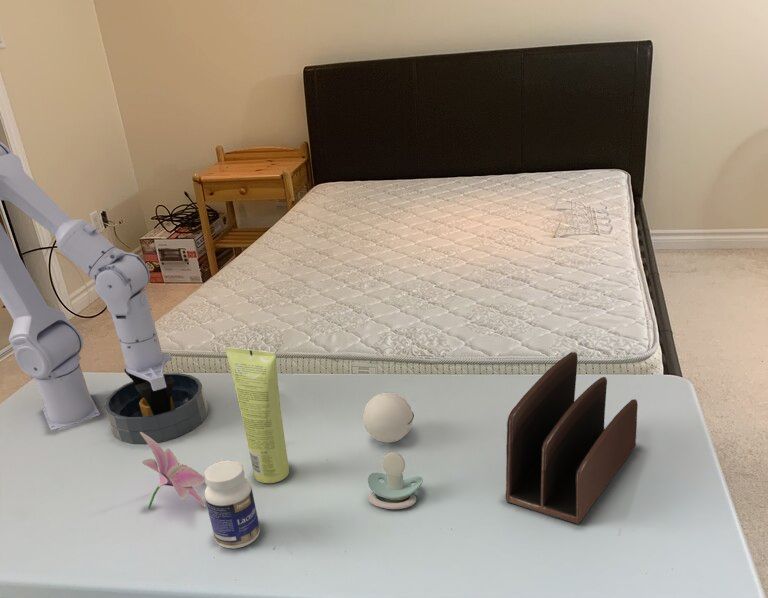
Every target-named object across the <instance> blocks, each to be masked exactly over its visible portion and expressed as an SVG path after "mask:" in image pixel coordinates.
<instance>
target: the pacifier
mask: <svg viewBox="0 0 768 598" xmlns="http://www.w3.org/2000/svg"><path fill="white" fill-rule="evenodd" d="M381 464H382V469H383V471H384V472H385V473H383V472H379V471H377V472H372V473H370V474H368V476H367V483H368V487H369V489H370V491H371V492H370V494H369V495H368V497H367V499H368V501H369V502H370V503H371V504H372V505H374V506H376V507H377V508H381V509H386V510H402V509H407V508H410V507H412V506H414V505H415V503H416V502H417V497H416V495H415V494H414V493H415V492H416V491H418V490H419V488H421V486H422V484H423V482H424V480H423V477H422V476H412V477H408V478H405V479H404V476H403V473H404V471H405V469H406V462H405V459H404V457H403V456H402V454H400V453H398V452H396V451H391V452H388V453H387V454H385V455H384V457H383V458H382V463H381ZM380 480H382V481H380ZM377 497H381V498H384V499H386V500H390V501H401V502H387V501H384V500H383V501H382V500H380V499H378V498H377ZM405 499H407V500H405ZM403 500H405V501H403Z"/></svg>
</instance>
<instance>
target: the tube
mask: <svg viewBox="0 0 768 598" xmlns="http://www.w3.org/2000/svg"><path fill="white" fill-rule="evenodd" d="M224 349H225V354H226V358H227V361H228V364H229V369H230V373H231V376H232V380H233V385H234V388H235V393H236V396H237V401H238V406H239V410H240V415H241V418H242V423H243V428H244V432H245V437H246V442H247V447H248V452H249V457H250V461H251V467H252V471H253V475H254V479H255V480H256V481H257V482H259V483H263V484H275V483H278V482H281V481H283V480H284V479H286V478H287V477H288V476H289V473H290V468H289V467H290V466H289V460H288V453H287V446H286V440H285V439H286V437H285V432H284V424H283V415H282V409H281V408H282V407H281V399H280V389H279V378H278V366H277V352H276V351H265V350H257V349H247V348H238V347H233V346H232V347H231V346H225V347H224Z"/></svg>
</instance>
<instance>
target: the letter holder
mask: <svg viewBox="0 0 768 598" xmlns="http://www.w3.org/2000/svg"><path fill="white" fill-rule="evenodd" d="M577 370H578V352H576V351H572V352H569V353H568V354H566V355H564V356H563V357H562V358H561V359H559V360H558V361H557V362H556V363H554V364H553V365H551V367H549V369H547V371H546V372H544V373H543V374H542V376H540V378H539V379H537V381H536V382H535V383H534V384H533V385H532V386H531V387H530V388H529V389H528V391H527V392H525V394H523V396H522V397H521V398H520V400H519V401H518V402H517V403H516V405H514V407H513V408H512V409H511V411H510V412H509V414H508V417H507V423H506V445H505V446H506V449H505V450H506V452H505V453H506V456H505V457H506V459H505V461H506V466H505V501H506V503H507V504H511V505H512V504H513V505H515V506H518V507H521V508H524V509H528V510H530V511H531V510H532V511H535V512H538V513H540V514H544V515H547V516H550V517H553V518H556V519H560V520H563V521H566V522H569V523H572V524H575V525H580V523H581V522H582V520H583V519H584V518H585V516H586V515H587V513H588V512H589V511H590V509H591V508H592V507H593V505H594V504H595V503H596V501H597V500H598V498H600V496H601V495H602V493H603V492H604V490H605V489H606V488H607V486H608V485H609V484H610V482H611V481H612V480H613V478H614V477H615V476H616V474H617V473H618V471H619V470H620V469H621V467H622V466H623V464H624V463H625V462H626V460H627V459H628V458H629V456H630V455H631V453H632V452H633V450H634V449H635V448H636V446H637V431H638V430H637V429H638V428H637V426H638V399H635V398H634V399H633V398H632V399H630V401H629V402H627V403H626V404H625V405H624V406H623V407H622V409H620V410H619V412H617V414H616V415H615V416H614V417H613V418H612V419H611V421H610V422H609V423H608V424H607V426H606V427H605V419H606V416H605V415H606V402H607V401H606V399H607V388H608V387H607V386H608V379H607V377H606V376H602V377H600V378H598V379H597V380H595V381H594V382H593V383H592V384H591V385H590V386H589V387H587V388H586V389H585V390H584V391H583V392H582V393H581V394H580V395H579V396H578V397H577V398H576V399H575V396H576V385H577V373H578V371H577Z"/></svg>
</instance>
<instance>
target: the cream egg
mask: <svg viewBox="0 0 768 598" xmlns="http://www.w3.org/2000/svg"><path fill="white" fill-rule="evenodd" d="M362 418H363V419H362V422H363V426H364V428H365V430H366V432H367V433H368V434H369V435H370V437H371V438H373V439H375V440H376V441H378V442H381V443H386V444H387V443H388V444H389V443H395V442H398V441H400V440H402V438H404V437H405V436H407V435H408V433H409V431H410V430H411V428H412V426H413V420H414V418H415V415H414V412H413V410H412V407H411V405H410V404H409V403H408V401H407V400H406V398H404V397H402V396H401V395H399V394H398V393H394V392H383V393H379V394H376V395H374V396H373V397H372V398H371V399H369V401H368V402H367V404H366V405H365V407H364V410H363V417H362Z"/></svg>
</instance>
